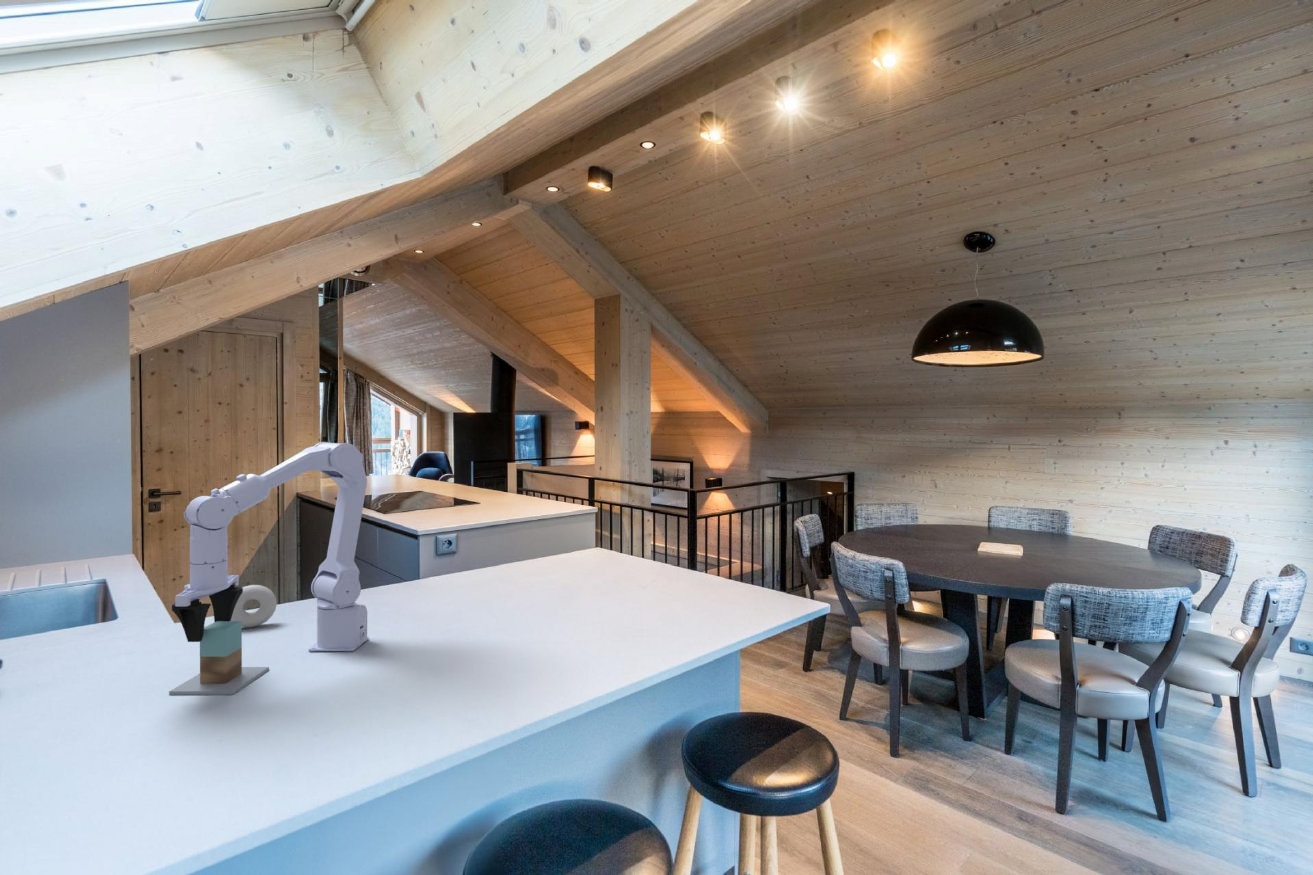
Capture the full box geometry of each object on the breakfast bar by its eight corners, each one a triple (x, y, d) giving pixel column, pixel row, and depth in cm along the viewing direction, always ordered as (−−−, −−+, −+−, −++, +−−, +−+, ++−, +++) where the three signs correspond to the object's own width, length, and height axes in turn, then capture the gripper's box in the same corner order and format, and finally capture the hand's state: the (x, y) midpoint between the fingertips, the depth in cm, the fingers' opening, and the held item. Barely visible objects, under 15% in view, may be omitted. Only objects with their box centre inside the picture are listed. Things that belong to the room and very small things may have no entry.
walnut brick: (241, 673, 118) (241, 647, 118) (225, 683, 114) (225, 656, 113) (216, 673, 118) (216, 647, 118) (200, 683, 113) (200, 656, 113)
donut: (225, 632, 142) (225, 589, 142) (226, 628, 145) (226, 585, 145) (276, 625, 147) (276, 583, 147) (276, 621, 150) (276, 580, 150)
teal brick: (241, 647, 118) (241, 621, 118) (225, 656, 113) (225, 629, 113) (216, 647, 118) (216, 621, 118) (199, 656, 113) (199, 629, 113)
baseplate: (269, 669, 121) (269, 666, 121) (232, 694, 110) (232, 691, 110) (211, 669, 121) (211, 666, 121) (169, 694, 110) (169, 691, 110)
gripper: (212, 552, 122) (213, 621, 122) (157, 570, 108) (157, 648, 108) (249, 553, 123) (249, 621, 123) (199, 570, 108) (199, 647, 108)
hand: (209, 634), depth 115 cm, fingers open, 7 cm apart
